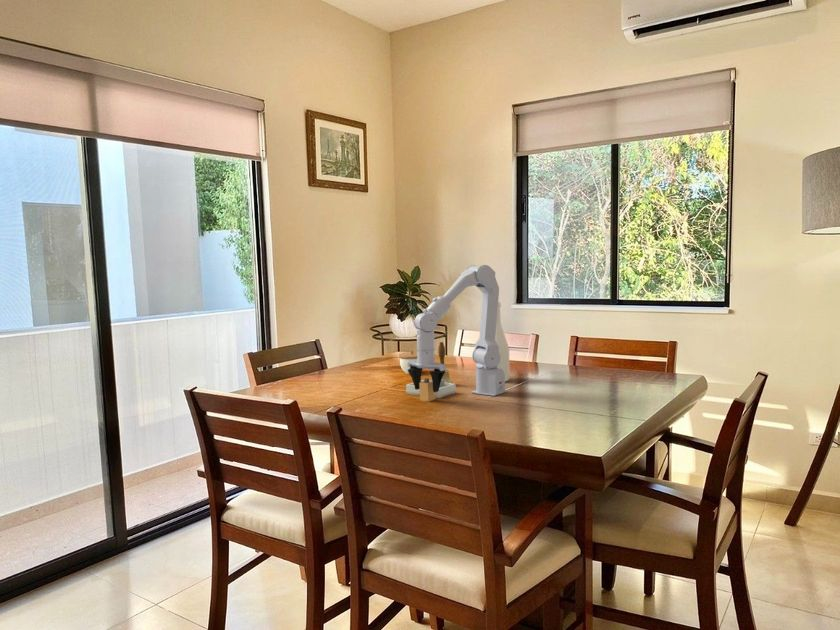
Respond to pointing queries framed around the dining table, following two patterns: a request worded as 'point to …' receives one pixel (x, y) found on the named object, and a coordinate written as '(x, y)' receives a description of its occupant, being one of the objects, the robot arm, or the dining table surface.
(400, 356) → the lidded jar
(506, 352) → the wine bottle
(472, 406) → the dining table surface
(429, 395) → the tan wooden block
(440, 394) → the box
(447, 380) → the hand bell
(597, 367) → the dining table surface
